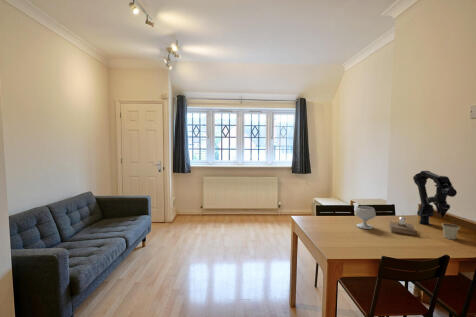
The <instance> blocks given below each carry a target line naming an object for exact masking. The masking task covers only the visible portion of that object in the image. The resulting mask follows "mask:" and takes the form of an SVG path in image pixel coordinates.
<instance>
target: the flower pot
mask: <svg viewBox="0 0 476 317" xmlns="http://www.w3.org/2000/svg"><path fill="white" fill-rule="evenodd" d="M441 227H442V231H443V237H444V238H446V239H448V240H456V239H457V237H458V236H457V235H458V232H459V230H460V228H461V226H459V225H457V224H454V223H449V222H447V223H445V222H444V223H443V222H442V223H441Z"/></svg>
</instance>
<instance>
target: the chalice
mask: <svg viewBox="0 0 476 317" xmlns="http://www.w3.org/2000/svg"><path fill="white" fill-rule="evenodd" d="M354 213H355V216H356V217H358V218H359V219H361V220H362V221H363V222H362V223H357V224H355V225H356V227H357V228H360V229H362V230H363V229H365V230H373V229H374V228H375V227H374V226H373V225H372V224H369V223H367V222H368V221H369V220H373V219H375V217H377V216H376V215H377V214H376V210H375V208H374V207H372V206H368V205H358V206H356V208H355V210H354Z"/></svg>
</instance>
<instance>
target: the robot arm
mask: <svg viewBox="0 0 476 317" xmlns="http://www.w3.org/2000/svg"><path fill="white" fill-rule="evenodd" d="M412 177H413V179H412V180H413V181H414V184H415V185H416V186H417V189H418V194H419V195H418V196H419V199H420V206H419V209H418V211H416V214H417V215H418V216H419V220H418V223H419V224H420V225H426V226H431V223H430V217H431V218H433V216H434V214H435V210H434V206H435V208H436V213H437V214H440V216H441V218H444V216H446V213H447V212H448V211H449V210H450V209H451V205H450V204H449V203H448V202H447V198H448V197H450V198H453V197H456V195H457V193H458V192H457V190H456V189H455V188H454V186H453V183H452V182H451V180H450V178H449V177H448V176H446V175H438V174H436V173H434V172H431V171H430V170H421V171H420V172H418V173H415V175H413V176H412ZM428 179H430V180H432V181H433V183H434V187H436V188H435V189H436V190H435V191H436V192H435V194H434V196H428V193H427V187H426V184H427V182H428ZM432 203H433V204H432ZM433 205H434V206H433Z"/></svg>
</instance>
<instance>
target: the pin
mask: <svg viewBox="0 0 476 317" xmlns="http://www.w3.org/2000/svg"><path fill="white" fill-rule="evenodd" d="M399 223H400V226H401V227H405V223H406V217H405V216H399Z"/></svg>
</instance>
